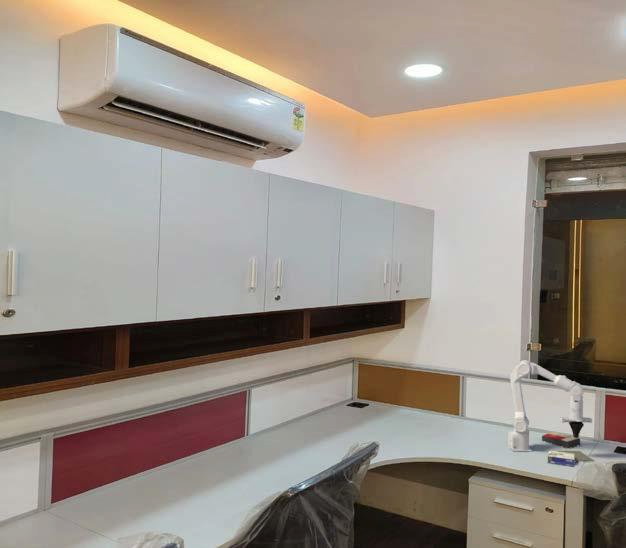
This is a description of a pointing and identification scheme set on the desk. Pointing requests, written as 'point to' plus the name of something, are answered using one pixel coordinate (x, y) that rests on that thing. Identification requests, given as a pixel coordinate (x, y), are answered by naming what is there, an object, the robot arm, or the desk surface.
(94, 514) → the desk surface
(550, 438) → the red and black box
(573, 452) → the desk mat
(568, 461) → the ink box
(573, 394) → the robot arm
